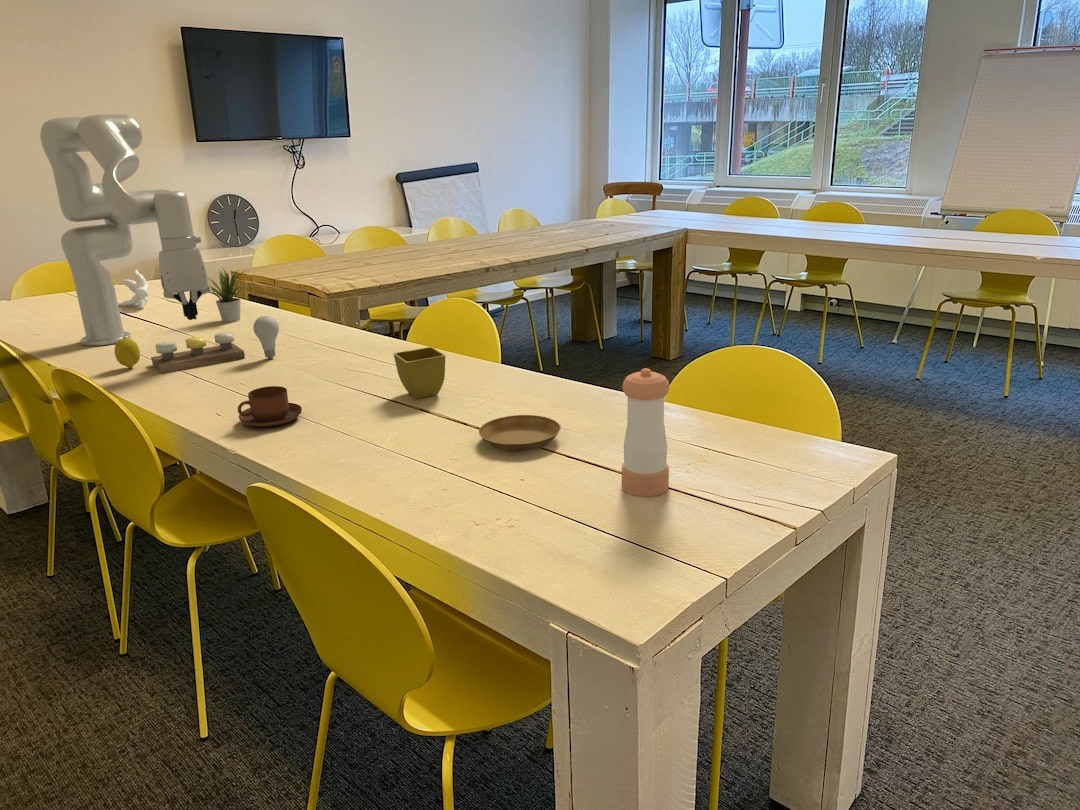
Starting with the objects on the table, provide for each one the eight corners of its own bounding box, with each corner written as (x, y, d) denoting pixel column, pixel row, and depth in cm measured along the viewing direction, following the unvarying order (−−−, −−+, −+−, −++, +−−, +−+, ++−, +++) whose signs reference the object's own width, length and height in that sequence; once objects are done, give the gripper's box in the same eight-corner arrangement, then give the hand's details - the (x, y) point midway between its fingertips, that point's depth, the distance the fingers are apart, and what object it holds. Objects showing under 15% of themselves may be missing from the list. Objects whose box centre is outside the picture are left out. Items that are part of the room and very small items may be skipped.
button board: (152, 364, 207) (151, 357, 206) (233, 350, 217) (232, 343, 217) (161, 373, 199) (159, 365, 198) (244, 358, 209) (243, 350, 209)
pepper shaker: (616, 493, 126) (615, 374, 120) (628, 475, 133) (628, 360, 127) (662, 499, 124) (664, 377, 118) (673, 480, 130) (675, 363, 124)
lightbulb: (288, 356, 210) (282, 314, 206) (271, 362, 204) (265, 319, 201) (269, 354, 212) (263, 312, 209) (252, 360, 207) (246, 317, 203)
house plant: (269, 317, 254) (261, 264, 248) (232, 327, 243) (223, 272, 237) (239, 313, 261) (230, 262, 256) (201, 322, 250) (192, 269, 245)
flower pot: (409, 403, 171) (406, 361, 168) (396, 392, 178) (392, 352, 175) (449, 396, 174) (446, 355, 172) (434, 385, 182) (431, 346, 179)
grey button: (214, 350, 212) (212, 334, 210) (233, 347, 214) (230, 331, 213) (219, 354, 208) (216, 337, 207) (238, 351, 211) (235, 334, 209)
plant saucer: (496, 463, 140) (495, 449, 139) (468, 436, 153) (467, 422, 152) (574, 448, 145) (574, 434, 144) (541, 422, 158) (540, 409, 157)
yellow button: (186, 355, 208) (183, 339, 207) (205, 352, 211) (202, 335, 209) (190, 359, 205) (187, 342, 203) (210, 356, 207) (207, 339, 206)
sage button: (156, 361, 204) (153, 343, 203) (176, 357, 207) (173, 340, 205) (160, 365, 201) (157, 347, 199) (180, 361, 203) (177, 344, 202)
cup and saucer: (268, 436, 156) (263, 405, 154) (227, 425, 162) (222, 396, 160) (315, 416, 166) (311, 387, 164) (274, 407, 172) (270, 379, 170)
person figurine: (101, 275, 276) (137, 267, 268) (134, 276, 287) (170, 269, 279) (106, 314, 277) (142, 307, 268) (139, 314, 288) (175, 308, 280)
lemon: (133, 371, 201) (126, 339, 199) (113, 371, 202) (106, 339, 200) (147, 365, 206) (141, 334, 204) (128, 364, 207) (121, 333, 205)
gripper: (206, 239, 205) (218, 311, 211) (142, 246, 197) (156, 321, 203) (214, 242, 199) (226, 316, 205) (148, 249, 192) (163, 326, 197)
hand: (191, 318), depth 204 cm, fingers closed
